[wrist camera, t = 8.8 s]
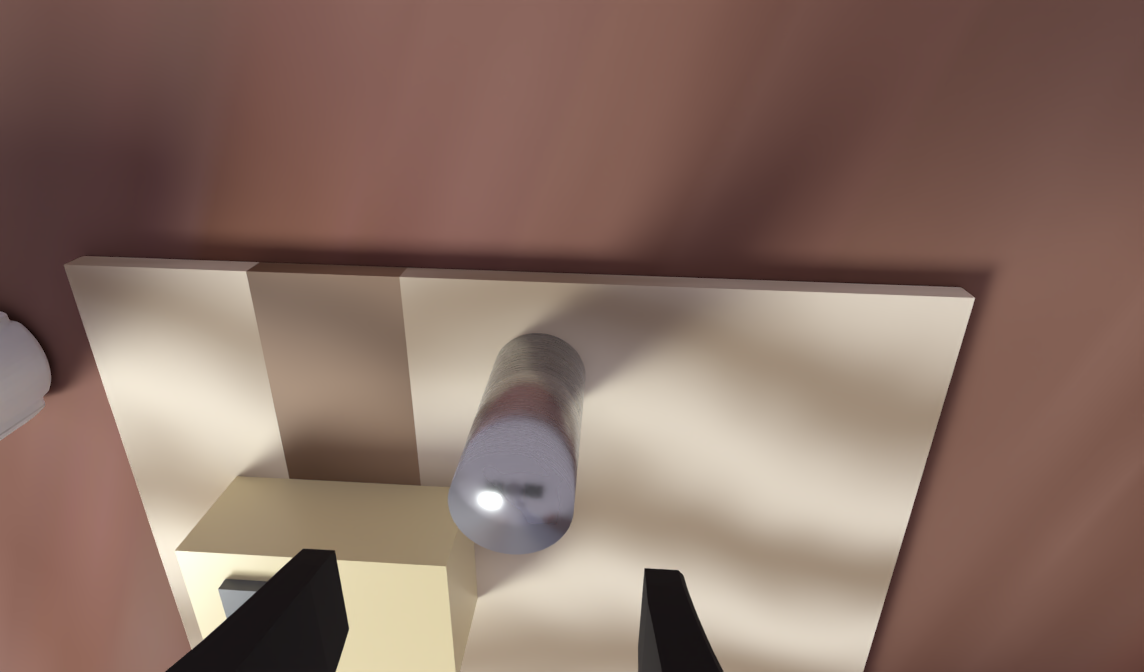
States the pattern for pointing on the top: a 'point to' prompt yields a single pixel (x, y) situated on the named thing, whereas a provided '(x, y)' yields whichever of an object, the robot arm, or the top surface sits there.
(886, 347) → the subfloor board
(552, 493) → the silver metal cylinder
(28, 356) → the white rounded block
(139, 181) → the top surface
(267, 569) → the cream rectangular block
